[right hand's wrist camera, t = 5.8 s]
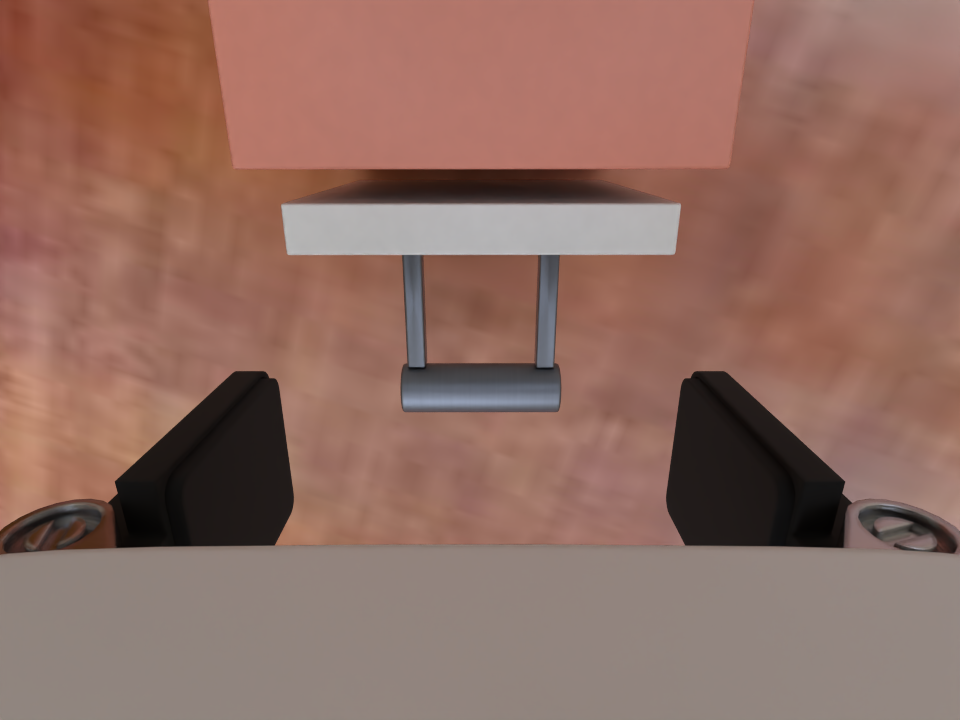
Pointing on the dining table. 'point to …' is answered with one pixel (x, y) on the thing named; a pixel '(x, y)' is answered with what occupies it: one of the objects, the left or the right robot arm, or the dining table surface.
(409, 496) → the dining table surface
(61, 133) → the dining table surface
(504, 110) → the cabinet
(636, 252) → the drawer
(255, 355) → the dining table surface
